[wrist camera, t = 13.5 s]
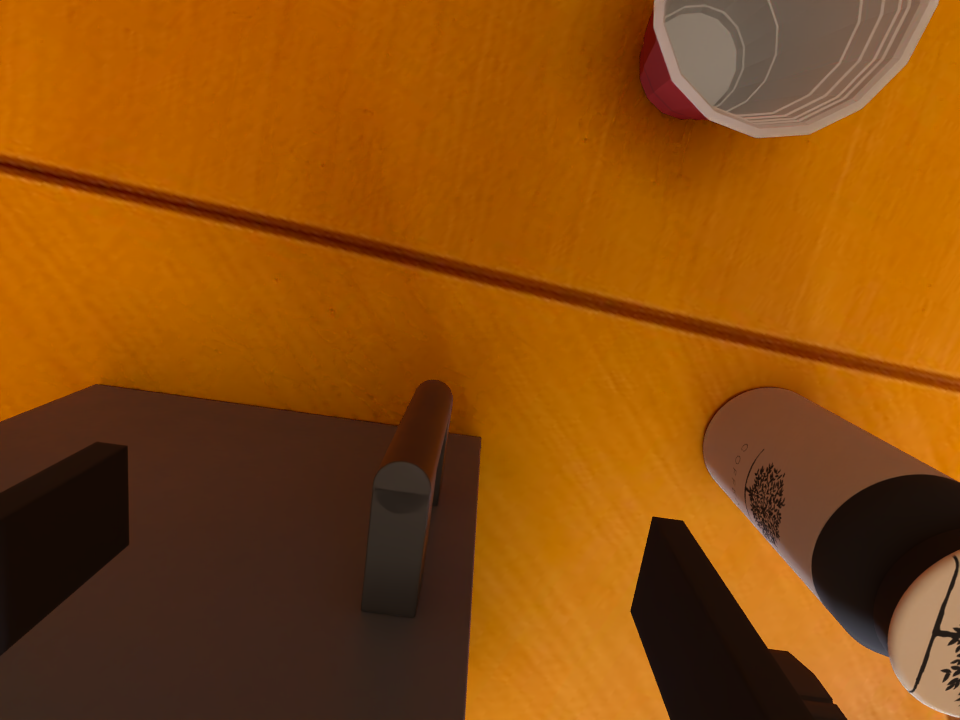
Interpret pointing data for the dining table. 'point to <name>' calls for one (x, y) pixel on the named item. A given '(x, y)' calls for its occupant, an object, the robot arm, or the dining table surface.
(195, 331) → the dining table surface
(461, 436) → the cupboard door
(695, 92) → the plastic cup
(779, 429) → the travel mug
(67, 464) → the robot arm
